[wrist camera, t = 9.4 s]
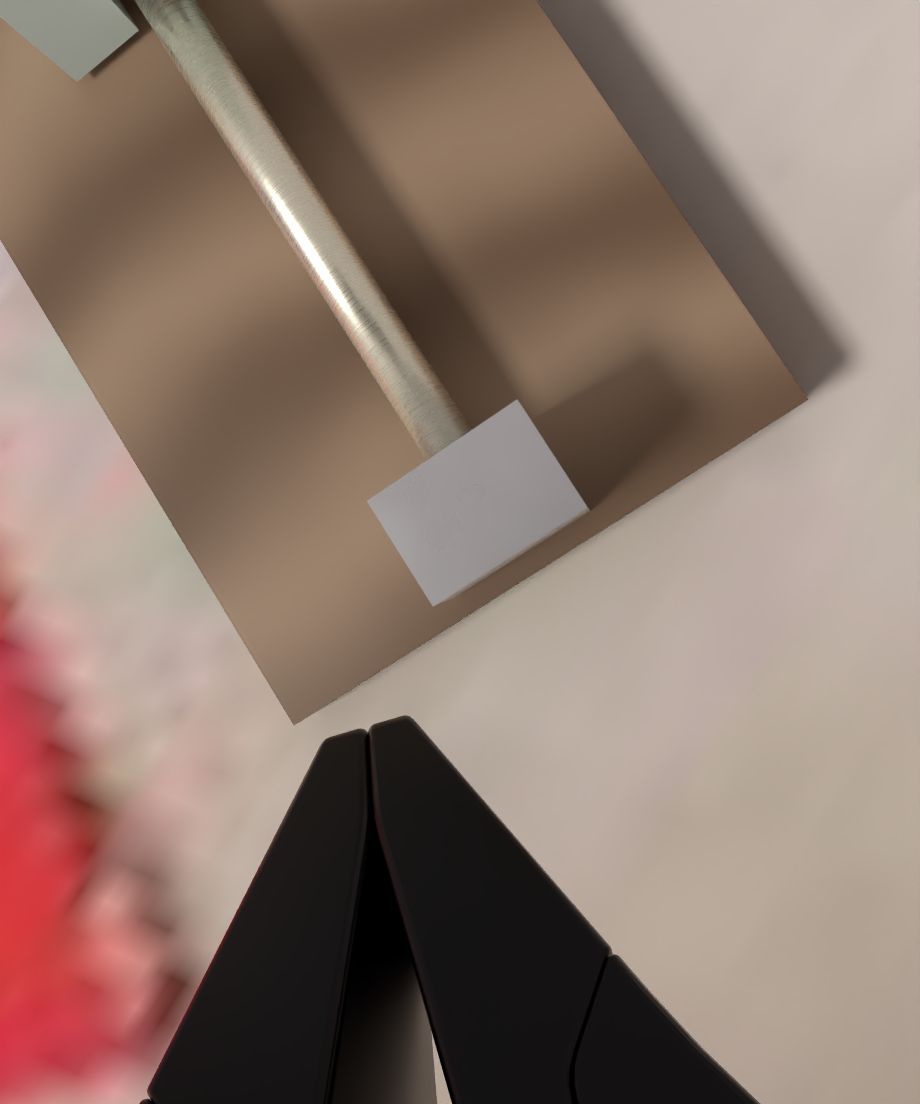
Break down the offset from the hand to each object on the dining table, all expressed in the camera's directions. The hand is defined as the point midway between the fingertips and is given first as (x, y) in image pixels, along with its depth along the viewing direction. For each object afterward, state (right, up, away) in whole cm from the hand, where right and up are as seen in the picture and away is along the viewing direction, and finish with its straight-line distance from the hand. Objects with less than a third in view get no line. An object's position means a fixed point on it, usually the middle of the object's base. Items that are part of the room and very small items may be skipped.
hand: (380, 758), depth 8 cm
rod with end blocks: (-4, +12, +13) cm, 18 cm away
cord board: (-4, +12, +14) cm, 19 cm away
